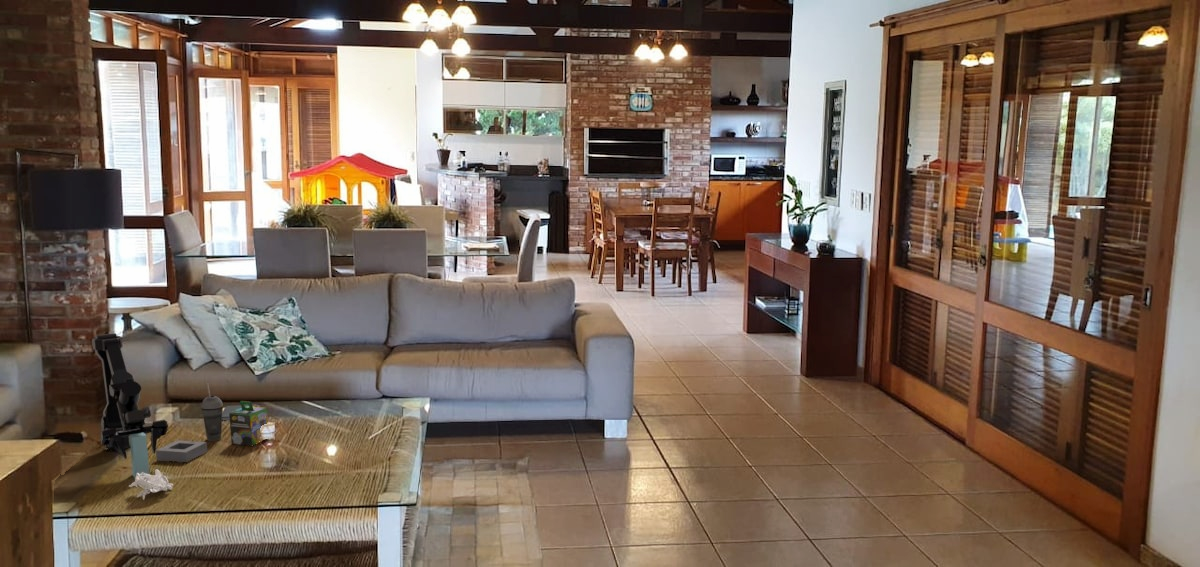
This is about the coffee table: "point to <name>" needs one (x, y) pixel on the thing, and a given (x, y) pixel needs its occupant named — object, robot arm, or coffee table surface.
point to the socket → (181, 451)
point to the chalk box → (247, 424)
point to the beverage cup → (212, 416)
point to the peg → (139, 453)
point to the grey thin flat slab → (232, 408)
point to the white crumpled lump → (151, 483)
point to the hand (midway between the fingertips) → (140, 455)
